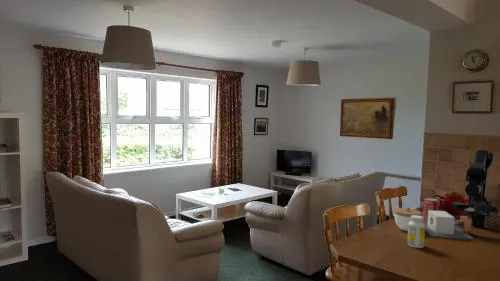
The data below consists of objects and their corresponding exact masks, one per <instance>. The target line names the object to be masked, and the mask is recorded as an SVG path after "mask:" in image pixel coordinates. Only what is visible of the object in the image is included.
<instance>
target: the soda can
mask: <svg viewBox="0 0 500 281" xmlns="http://www.w3.org/2000/svg"><path fill="white" fill-rule="evenodd" d="M428 210H431V211H439V202H438V199H436V198H431V197H425V198H424V200H423V203H422V217H423V221H422V223H424V224H427V223H428Z"/></svg>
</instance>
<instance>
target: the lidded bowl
mask: <svg viewBox="0 0 500 281" xmlns="http://www.w3.org/2000/svg"><path fill="white" fill-rule="evenodd" d="M412 215H417V216H421V217H423V211H421V210H418V209H415V208H414V209H413V208H410V207H408V206H407V207H406V208H405V207H401V208H399V207H398V208H395V209H394V222H395V224H396V226H397V227H398V228H399V230H401V231H405V232H408V223H409V222H410V221H411V216H412Z"/></svg>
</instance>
